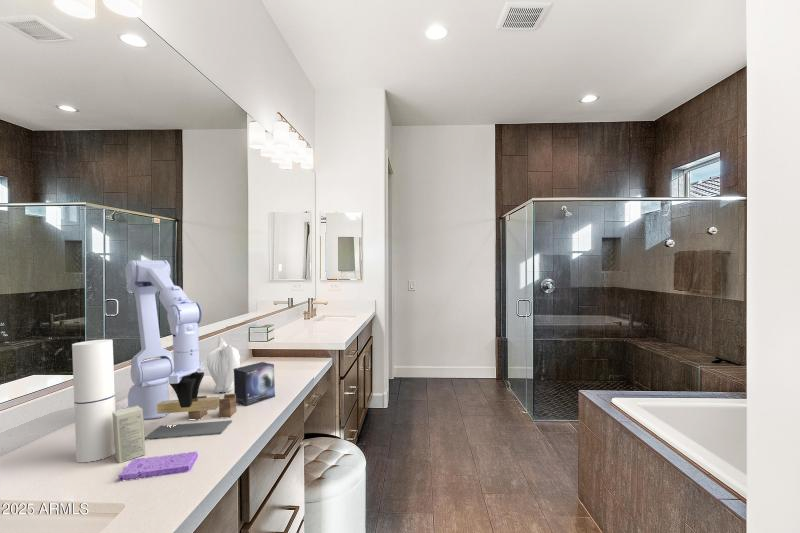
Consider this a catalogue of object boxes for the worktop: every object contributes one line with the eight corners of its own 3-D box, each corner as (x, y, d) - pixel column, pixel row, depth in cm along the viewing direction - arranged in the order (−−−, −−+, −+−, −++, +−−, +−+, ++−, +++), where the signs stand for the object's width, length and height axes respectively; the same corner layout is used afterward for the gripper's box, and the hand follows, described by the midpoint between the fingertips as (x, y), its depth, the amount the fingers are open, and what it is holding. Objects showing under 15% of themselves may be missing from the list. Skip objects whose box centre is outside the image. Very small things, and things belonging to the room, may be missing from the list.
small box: (246, 407, 118) (244, 371, 118) (233, 403, 121) (232, 368, 122) (276, 396, 126) (274, 363, 126) (263, 393, 130) (262, 361, 130)
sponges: (133, 467, 83) (133, 458, 83) (199, 458, 86) (198, 449, 86) (117, 485, 76) (117, 475, 76) (189, 474, 79) (189, 464, 79)
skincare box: (141, 449, 91) (139, 404, 91) (146, 455, 88) (144, 408, 88) (113, 457, 87) (111, 411, 87) (117, 464, 84) (115, 415, 84)
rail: (157, 414, 99) (156, 404, 99) (162, 410, 102) (162, 400, 102) (215, 409, 100) (215, 400, 100) (219, 406, 103) (219, 396, 103)
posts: (188, 420, 108) (188, 401, 108) (196, 414, 113) (195, 396, 113) (230, 417, 109) (230, 398, 109) (236, 411, 114) (235, 393, 114)
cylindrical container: (84, 465, 84) (80, 345, 84) (70, 458, 88) (66, 344, 88) (123, 451, 90) (118, 340, 90) (108, 445, 94) (104, 338, 94)
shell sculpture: (232, 394, 130) (230, 339, 131) (207, 395, 131) (204, 340, 131) (242, 387, 139) (240, 335, 139) (219, 388, 139) (216, 336, 139)
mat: (143, 439, 96) (143, 438, 96) (160, 427, 104) (160, 425, 104) (220, 433, 98) (220, 432, 98) (231, 421, 106) (231, 420, 106)
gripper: (190, 355, 94) (192, 413, 94) (213, 344, 109) (216, 395, 109) (158, 357, 94) (161, 416, 94) (186, 346, 108) (189, 396, 108)
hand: (188, 404), depth 101 cm, fingers closed on rail, 3 cm apart
